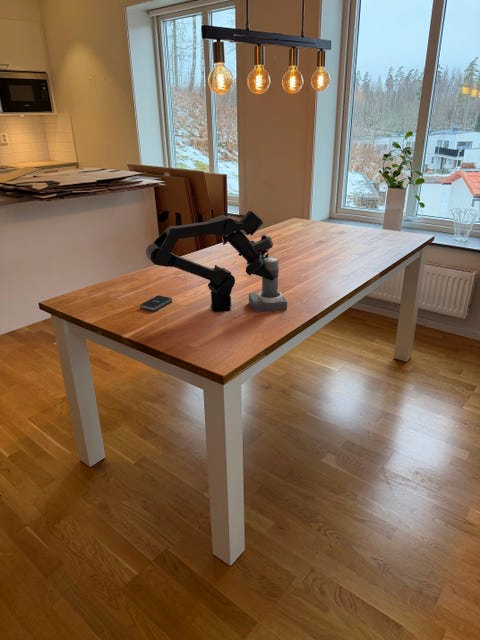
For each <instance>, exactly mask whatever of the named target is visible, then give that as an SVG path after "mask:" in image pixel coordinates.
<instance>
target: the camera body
mask: <svg viewBox="0 0 480 640" xmlns="http://www.w3.org/2000/svg"><path fill="white" fill-rule="evenodd" d="M283 295H284V294H283V293H282V292H281V291H279V290H278V295H277V296H275V297H265V296H263V295H262V291H259V292H258V294H257V292H249V293H248V305H250V306H249V307H250V308H251V309H252V312H253V313H262V312H263V313H265V312H276V311H287V310H288V308H287V307H288V301H287V299H286V298H285V296H283Z"/></svg>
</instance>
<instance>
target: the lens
mask: <svg viewBox="0 0 480 640" xmlns="http://www.w3.org/2000/svg"><path fill="white" fill-rule="evenodd" d="M263 261H265V266H266V268H267V269H268V270H269V272H270V273H271V275H272V276H273V277H274V280H273V281H271V280H269V279H266V278H263V277H261V280H262V281H261V282H262V283H261V292H262V295H263V296H265V297H275V296H277V295H278V291H279V273H280V272H279V268H280V267H279V261H280V260H279V259H278V258H276V257H269V258H265V259H264V260H263Z"/></svg>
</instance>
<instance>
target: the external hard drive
mask: <svg viewBox="0 0 480 640" xmlns="http://www.w3.org/2000/svg"><path fill="white" fill-rule="evenodd" d="M171 303H173V298H172V297H169V296H163V295H160V294H159V295H155V296H153V297H152V298H150V299H148V300H146V301H144V302H141V303H140V304H139V309H140V310H142V309H143V311H147V312H150V313H151V312H152V313H156V312H157V311H159V310H161V309H162V308H164V307H167V306H168V305H170V304H171Z"/></svg>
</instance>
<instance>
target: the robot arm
mask: <svg viewBox="0 0 480 640" xmlns="http://www.w3.org/2000/svg"><path fill="white" fill-rule="evenodd" d="M263 225H264V222H263V220H262V219H261V218H260V217H259V216H257V214H256V213H254V212H253V211H252V210H248V211H247V212H246V213H245V215H244V216H243V217H242V218H241V219H240V220H237V219H234V218H232V217H229V216H227V215H224V214H223V215H221V214H220V215H218V216H215V217H212V218H210V219H209V220H207V221H203V222H202V221H201V222H195V223H187V224H181V225H169V226H168V227H166V228H165V230H164V231H163V232H162V233H161V234H160V235H159V236H158V237H157V238H156V239H155V240H154V241H153V243H151V244H149V245H148V246H147V247H146V250H145V255H146V257H147V259H148V260H150V262H152V263H153V264H154V265H155V266H160V267H165V268H175V269H178V270H181V271H184V272H186V273H189V274H192V275H194V276H196V277H200V278H203V279H205V280H207V281H209V282H208V283H207V286H208V290H210V301H211V302H210V308H211V312H213V313H215V312H216V313H217V312H226V311H227V312H228V311H231V307H232V296H231V294H232V290H233V287H234V286H235V285H236V279H235V276H234V275H233V274H232V272H231V271H229V270H228V269H226V268H225V267H220V266H218V265H217V264H215V265H214V266H213V267H214V268H213V267H207V266H206V265H205V266H204V265H202V264H200V263H197V262H194V261H193V260H191V259H187V258H184V257H182V256H179V255H176V254H175V253H173V250H174V248H175V245H176V244H177V242H178V240H182V239H187V238H195V237H202V236H206V235H215V236H222V237H221V239H222V245H223V246H225V245H226V244H228V243H229V245H230V246H231V247H233V248H234V250H235V251H236V252H237V253H238V255H237V256H239V257H243V258H244V259H245V261H246V264H247V265H246V266H245V273H246V274H247V275H248V276H251V275H255V276H256V277H261V278H262V277H263V278H266V279H269V280H271V281H273V280H274V277H273V276H272V275H271V273H270V272H269V270H268V269H267V268H266V266H265V261H263V260H264V259H265V258H270V257H269V256H270V253H269V251H270V249H272V248H273V246H274V242H273V240H272V238H271V236H268V235H267V234H262V235H261V237H260V240H258V241H256V242H255V240H253V239H251V240H250V239H249V238H248V237H247V236H253V235H254V234H256V232H258V230H259V229H260V228H261V227H262V226H263Z"/></svg>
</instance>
